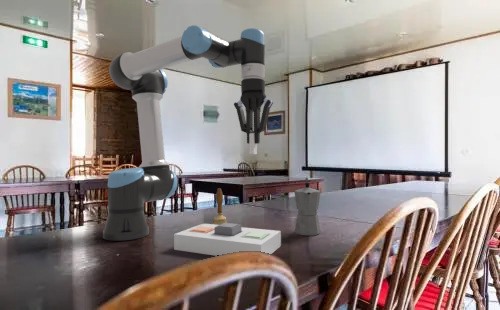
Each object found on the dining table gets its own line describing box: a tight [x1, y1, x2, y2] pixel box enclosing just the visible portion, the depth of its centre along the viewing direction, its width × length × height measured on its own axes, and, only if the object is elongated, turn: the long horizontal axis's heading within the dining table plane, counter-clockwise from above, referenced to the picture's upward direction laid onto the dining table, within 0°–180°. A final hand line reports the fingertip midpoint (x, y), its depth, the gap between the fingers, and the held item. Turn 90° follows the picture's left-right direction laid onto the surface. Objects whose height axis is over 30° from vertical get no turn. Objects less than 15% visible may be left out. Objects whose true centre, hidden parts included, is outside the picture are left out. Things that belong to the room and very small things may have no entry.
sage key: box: [242, 232, 269, 240], centre depth 92 cm, size 6×6×3 cm
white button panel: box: [173, 223, 282, 257], centre depth 96 cm, size 28×16×5 cm, turn 66°
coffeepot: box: [293, 182, 322, 236], centre depth 115 cm, size 15×9×18 cm, turn 174°
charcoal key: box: [215, 222, 242, 236], centre depth 96 cm, size 6×6×3 cm
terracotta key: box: [190, 226, 215, 233], centre depth 99 cm, size 6×6×3 cm
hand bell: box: [212, 187, 228, 225], centre depth 115 cm, size 8×8×16 cm
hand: (253, 154), depth 101 cm, fingers closed
